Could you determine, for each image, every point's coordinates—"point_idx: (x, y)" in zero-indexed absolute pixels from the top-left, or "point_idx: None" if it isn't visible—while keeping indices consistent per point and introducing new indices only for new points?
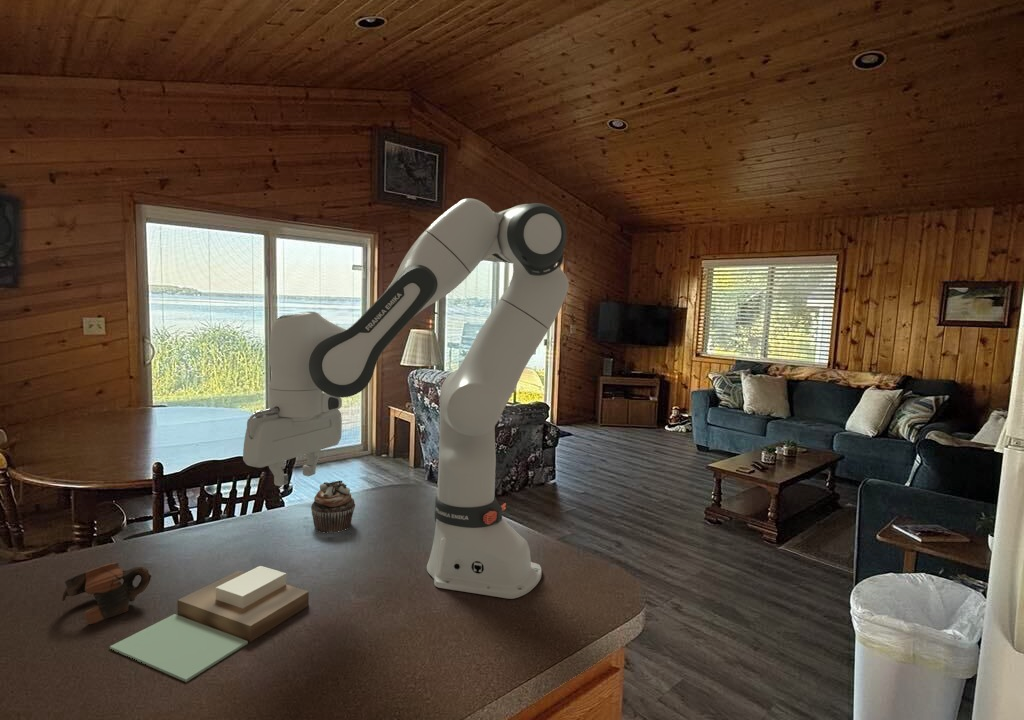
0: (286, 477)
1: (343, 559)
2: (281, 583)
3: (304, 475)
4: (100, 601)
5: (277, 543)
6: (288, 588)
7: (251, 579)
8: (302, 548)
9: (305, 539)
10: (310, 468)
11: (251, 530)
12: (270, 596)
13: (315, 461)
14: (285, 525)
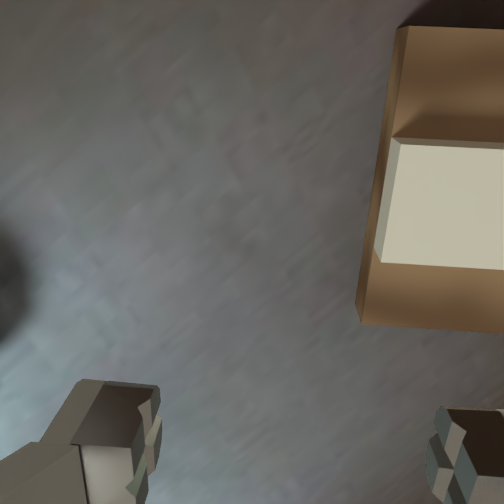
0: (490, 455)
1: (87, 144)
2: (415, 140)
3: (160, 427)
4: None
5: (120, 377)
6: (413, 109)
7: (481, 216)
8: (104, 302)
9: (55, 332)
10: (128, 435)
11: None
12: (481, 123)
13: (19, 483)
14: (25, 429)
